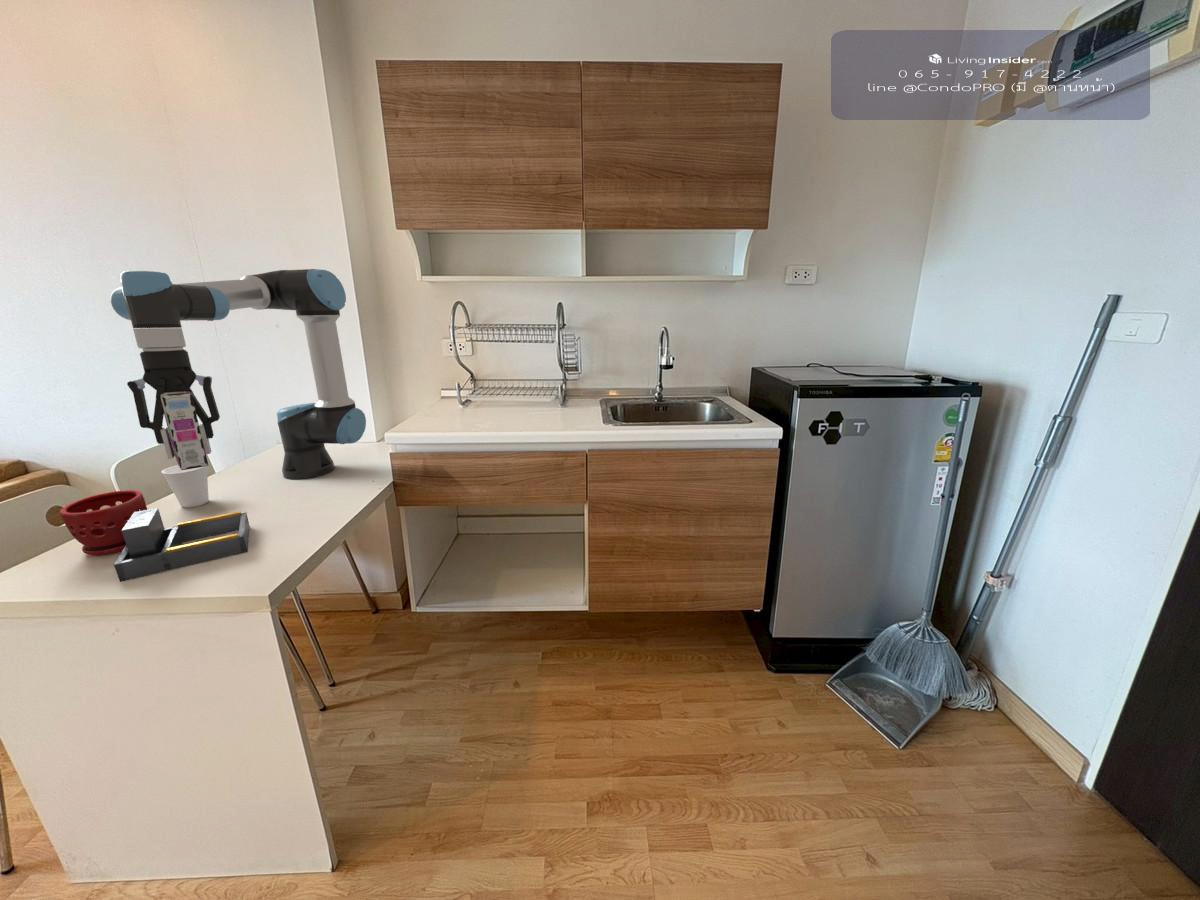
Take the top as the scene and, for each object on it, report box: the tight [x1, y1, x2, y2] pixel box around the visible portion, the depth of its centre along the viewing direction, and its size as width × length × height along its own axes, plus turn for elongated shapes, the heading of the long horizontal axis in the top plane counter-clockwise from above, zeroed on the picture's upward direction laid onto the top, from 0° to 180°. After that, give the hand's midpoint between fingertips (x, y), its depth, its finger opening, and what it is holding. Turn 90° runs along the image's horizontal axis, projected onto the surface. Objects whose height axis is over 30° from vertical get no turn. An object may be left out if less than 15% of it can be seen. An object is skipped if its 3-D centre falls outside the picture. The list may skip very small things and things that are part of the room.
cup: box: [161, 464, 210, 509], centre depth 131 cm, size 10×10×11 cm
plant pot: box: [59, 489, 148, 557], centre depth 106 cm, size 13×13×12 cm
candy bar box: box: [160, 391, 210, 470], centre depth 102 cm, size 11×5×16 cm, turn 46°
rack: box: [113, 507, 251, 583], centre depth 104 cm, size 21×16×10 cm
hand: (190, 454), depth 104 cm, fingers closed on candy bar box, 6 cm apart
